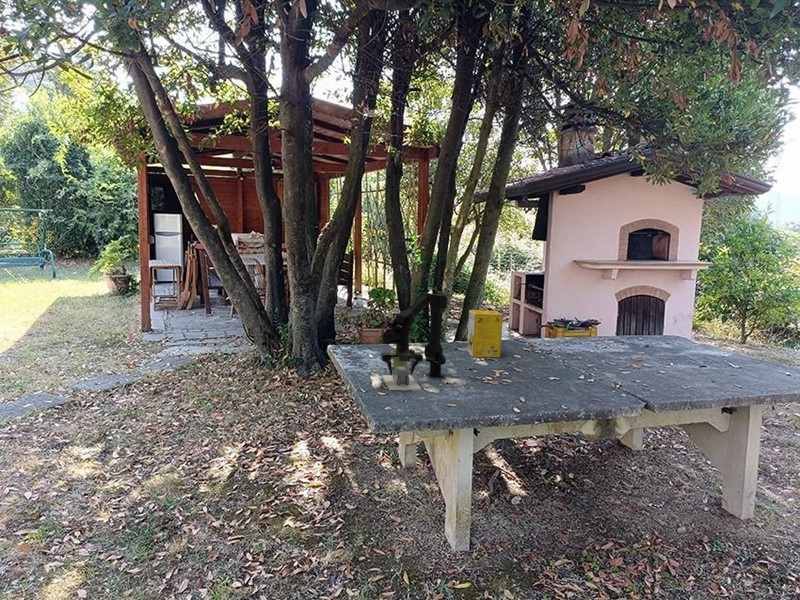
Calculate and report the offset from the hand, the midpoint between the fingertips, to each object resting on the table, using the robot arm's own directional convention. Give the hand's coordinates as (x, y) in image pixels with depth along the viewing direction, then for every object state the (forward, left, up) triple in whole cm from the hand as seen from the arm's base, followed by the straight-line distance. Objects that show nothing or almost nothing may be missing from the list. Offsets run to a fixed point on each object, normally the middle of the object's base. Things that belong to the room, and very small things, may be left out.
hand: (401, 375), depth 241 cm
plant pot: (-28, +5, -4) cm, 29 cm away
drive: (0, 0, -3) cm, 3 cm away
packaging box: (-59, +61, -4) cm, 85 cm away
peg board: (0, 0, -4) cm, 4 cm away
